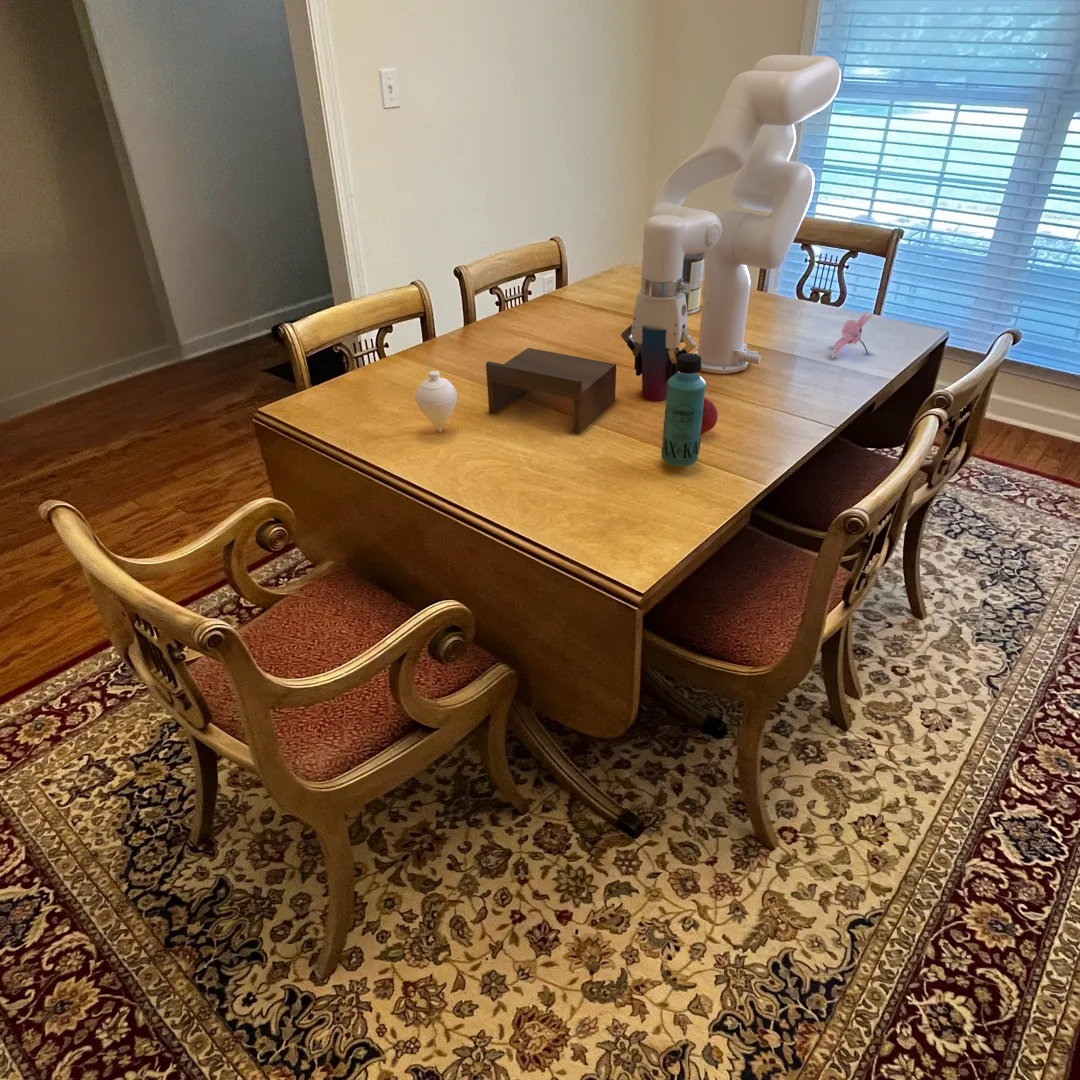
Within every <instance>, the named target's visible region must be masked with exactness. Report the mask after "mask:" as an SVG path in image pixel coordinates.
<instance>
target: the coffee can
mask: <svg viewBox="0 0 1080 1080" xmlns="http://www.w3.org/2000/svg"><path fill="white" fill-rule="evenodd" d="M704 264H705V258H704V253H701V254H690V255H685V256H684V260H683V273H682V278H683V282H685V283H687V284H689V288H688V291H682V292H681V293H684V294H685V296H686V305H687V315H691V314H695V313H698V312H699V311H700V305H701V304H700V303H701V294H702V293H701V292H702V284H703V283H702V281H703V273H704Z"/></svg>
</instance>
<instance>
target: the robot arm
mask: <svg viewBox="0 0 1080 1080" xmlns="http://www.w3.org/2000/svg"><path fill="white" fill-rule="evenodd" d="M841 78H842V73H841V69H840V65H839V63H838V61H837V60H836V59H834V58H833V57H831V56H827V55H806V54H805V55H803V54H773V55H768V56H764V57H762V58H761V59H759V60H758V61H757V62H756V63H755V65H754V67H753V69H752V70H748V71H743V72H741V73H739V74H738V75H736V76H735V77H734V78H733V80H731V82H730V85H729V86H728V88H727V90H726V93H725V94H724V97H723V98H722V99H723V100H722V102H721V104H720V106H719V108H718V110H717V113H716V115H715V117H714V119H713V121H712V124H711V125H710V128H709V130H708V133H707V135H706V137H705V139H704V142H703V144H702V145H701V147H700V148H699V149H698V150H697V151H695V152H694V153H693V154H691V155H690V156H689V157H687V158H686V159H685V160H683V161H682V162H681V163H680V164H679V165H678V166H677V167H675V169H673V170H672V171H671V173H670V174H669V175H668V176H667V177H666V178H665V179H664V181H663V182H662V184H661V186H660V187H659V189H658V192H657V194H656V196H655V199H654V201H653V203H652V206H651V207H650V211H649V214H648V217H647V219H646V220H645V223H644V225H643V238H642V240H643V242H642V259H641V260H642V261H641V263H642V264H641V279H640V281H641V282H640V285H641V286H640V290H639V291H638V292H637V295H636V298H635V302H634V308H633V313H632V321H631V324H630V326H628V327H627V328H626V329H624V330H623V331H622V332H621V334H620V337H621V339H622V340H623V341H624V342H625V344H626V345H627V347H628V348H629V350H630V351H631V352H632V356H633V357H634V371H635V376H636V377H640V376H642V326H644V327H646V328H648V329H653V330H666V348H668V350H669V351H668V353H669V356H670V362H669V363H668V370H667V381H668V380H669V379H670V378H671V377H672V376H673V375H675V374H676V373H679V371H677V370H676V369H675V366H676V361H677V357H678V355H680V354H684V353H691V352H692V351H693V350H694V349H695V348H696V347H697V350H695V351H694V352H692V353H693V354H697V355H699V356H700V357H701V365H702V367H701V371H700V372H705V373H709V374H719V375H728V374H734V373H738V372H741V371H743V370H745V369H746V368H747V367H748V366H749V363H750V364H754V365H755V364H756V365H760V364H761V361H762V355H761V354H760V351H756V350H750V349H749V348H747V347H748V342H744V341H745V333H746V331H745V330H746V326H747V325H746V324H747V316H748V308H749V303H750V302H749V301H750V294H751V276H750V273H749V272H750V271H749V270H748V267H752V268H757V269H761V270H773V269H776V268H778V267H779V266H780V265H781V264H782V263H783V262H784V260H785V259H786V257H787V256H788V255H789V252H790V249H791V248H792V245H793V243H794V242H795V241H794V240H795V238H796V236H797V233H798V232H799V230H800V227H801V225H802V222H803V220H804V218H805V216H806V214H807V211H808V209H809V207H810V204H811V202H812V198H813V194H814V191H815V190H814V189H815V175H814V171H812V169H811V167H809V166H808V165H807V164H805V163H802V162H799V161H792V160H790V158H791V155H792V153H793V150H794V148H795V145H796V141H797V135H796V128H795V125H796V124H798V123H801V122H802V121H804V120H806V119H808V118H809V117H811V116H812V115H813V116H814V115H815V114H816V113H818V112H820V111H822V110H824V109H825V108H826V107H827V106H828V105H829V104H830V103H832V101H833V100H834V98H835V97H836V95H837V93H838V91H839V88H840V84H841V80H842V79H841ZM733 174H735V176H734V178H733V182H732V184H731V188H730V197H731V200H732V201H733V203H734V204H735V205H737V206H738V207H740V208H742V209H743V208H744V209H747V210H752V211H757V212H762V213H769V214H770V215H769V216H768V215H762V214H756V213H752V212H746V211H741V210H734V209H732V210H731V209H730V210H729V209H727V210H720V211H717V212H715V213H713V212H711V211H709V210H705V209H701V208H694V207H689V206H683V204H684V201H686V199H687V197H689V195H690V194H692V193H694V192H695V191H696V190H697V189H698V188H700V187H702V186H704V185H706V184H709V183H711V182H713V181H716V180H719V179H722V178H724V177H727V176H730V175H733ZM701 253H704V276H703V278H704V279H703V289H702V290H703V291H702V300H701V301H702V302H701V311H700V312H701V313H700V321H699V333H698V343H696V342H695V340H694V339H693V337H692V336H691V335H690V334H689V332H688V314H687V305H686V296H685V294H684V293H681V292H682V291H688V288H689V284H687V283H685V282H683V278H682V273H683V260H684V256H685V255H690V254H701ZM747 266H748V267H747ZM681 343H683V344H684V345H685V346H684V347H683V348H682V349H680V344H681ZM697 344H698V345H697Z"/></svg>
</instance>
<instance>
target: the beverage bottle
mask: <svg viewBox="0 0 1080 1080" xmlns="http://www.w3.org/2000/svg"><path fill="white" fill-rule="evenodd" d="M693 353H694V352H689V353H684V354H680V355H678V357H677V361H676V366H675V369H676V370H677V371H678V373H676V374H675V375H673V376H672V377H671V378H670V379H669V380H668V382H667V385H668V387H667V397H666V398H665V409H664V417H663V421H662V422H663V425H662V427H663V429H662V434H661V435H662V437H661V440H662V442H661V449H660V455H661V459H662V461H663V462H664V463H665V464H667V465H669V466H673V467H679V468H680V467H681V468H683V467H689V466H692V465H694V464H695V463H696V462H697V460H698V458H699V455H700V449H701V448H700V447H701V441H702V439H701V438H702V434H701V431H702V430H701V429H702V428H701V425H703V423H702V416H704V415H703V405H704V396H705V394H706V387H707V382H706V381H705V379H704V378H703V377H702V376H701V375H700V374H698V373H700V372H702V371H701V367H702V365H701V357H700V356H699V355H697V354H693ZM705 397H706V396H705ZM700 434H701V435H700Z"/></svg>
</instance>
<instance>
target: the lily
mask: <svg viewBox="0 0 1080 1080" xmlns="http://www.w3.org/2000/svg"><path fill="white" fill-rule="evenodd" d="M869 310H870V309H867V310H865V312H864V313H863V314H862V315H861V316H860V317H858V319H857V321H856V320H855V319H848V320H846V321H845V322H844V324H843V326H842V327H841V328H842V329H841V336H842V337H840V338H839V339H838V340H837V341H836V342H835V343H834V344H833V345H832V347H831V349H834V350H833V352H832V355H831V359H833V358H835V356H836V355H837V354H838V353H839V352H840V351H841V350H842V349H843V348H844V347H845V346H846V345H857V344H858V342H860V343H861V344H862V346H863V347H864V350H865V352H866V354H867V355H869V351H868V349H867V346H866V345H865V343H864V341H863V340H862V330H863V327H864V325H866V324H867V323H868V322H869V321H870V320H871V319H872V318H874V314H869V315H868V312H869Z"/></svg>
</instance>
